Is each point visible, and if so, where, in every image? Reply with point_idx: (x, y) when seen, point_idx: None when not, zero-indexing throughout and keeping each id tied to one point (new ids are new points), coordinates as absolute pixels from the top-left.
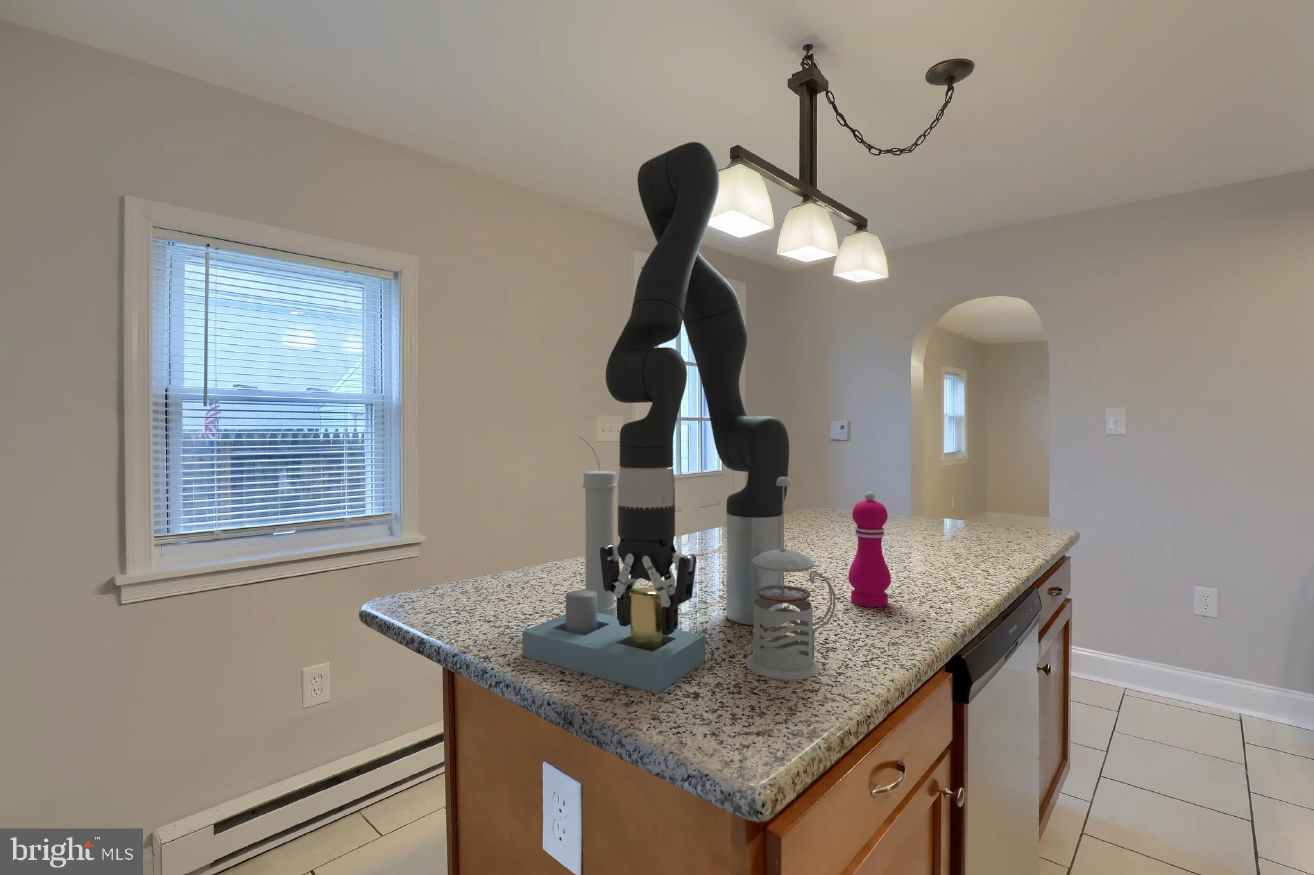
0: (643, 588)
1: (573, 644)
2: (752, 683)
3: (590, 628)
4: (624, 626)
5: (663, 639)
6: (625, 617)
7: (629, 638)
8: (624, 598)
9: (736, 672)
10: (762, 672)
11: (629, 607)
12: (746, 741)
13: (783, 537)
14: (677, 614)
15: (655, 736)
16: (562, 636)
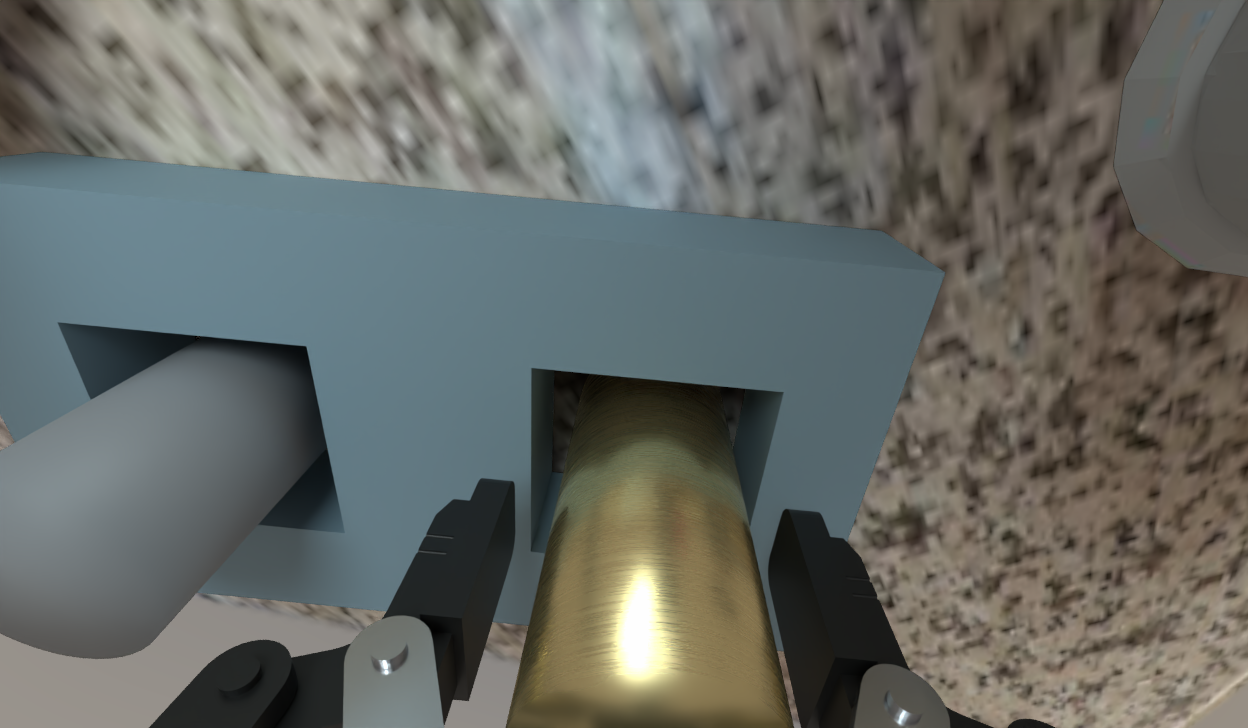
0: (561, 714)
1: (387, 609)
2: (1137, 368)
3: (297, 469)
4: (514, 538)
5: (738, 476)
6: (501, 568)
7: (533, 453)
8: (455, 679)
9: (1060, 291)
10: (1210, 264)
11: (488, 583)
12: (1096, 673)
13: None
14: (883, 620)
15: None
16: (278, 572)
